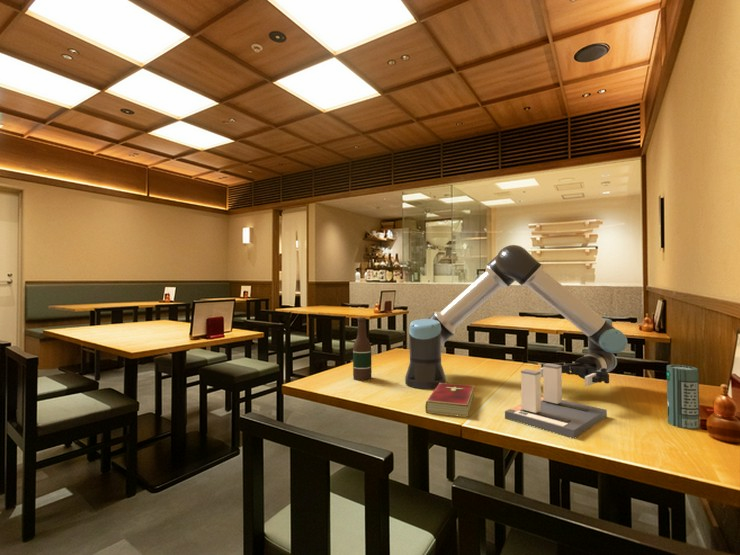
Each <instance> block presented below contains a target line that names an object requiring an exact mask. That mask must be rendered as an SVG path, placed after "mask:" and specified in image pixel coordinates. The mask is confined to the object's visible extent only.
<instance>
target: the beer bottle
mask: <svg viewBox="0 0 740 555" xmlns="http://www.w3.org/2000/svg"><path fill="white" fill-rule="evenodd" d="M366 321H367V318H366V317H363V316H362V317H361V316H359V317H357V334H356V338H355V340H354V342H353V345H352V346H353V348H352V375H353V377H352V378H353V380H355V379H356V380H355V381H368V380H371V379H372V345H371V342H370V340H369V338H368V337H367V336H368V334H367V323H366Z"/></svg>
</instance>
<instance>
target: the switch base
mask: <svg viewBox="0 0 740 555" xmlns="http://www.w3.org/2000/svg"><path fill="white" fill-rule="evenodd" d="M520 377H521V378H520V385H521V386H520V388H521V389H520V392H521V393H520V394H521V403H520V404H518V405H516V406H514V407H510V408H508V409H507V410H505V411H504V419H505V418H508V419H507V420H509V419H512V420H515V421H519V422H522V423H525V424H524V425H526V424H528V425H527V426H529V425H531V426H530V427H532V426H535V427H534V428H536V427H538V428H537V429H539V428H541V429H540V430H543V429H544V430H543V431H546V430H547V432H549V431H551V432H550V433H553V432H555V433H554V434H556V433H558V434H557V435H560V434H561V436H563V435H564V437H567V438H570V437H571V439H573V438H574V439H576V438H577V437H579V436H580V435H582V434H583V433H585V432H587V431H588V430H590V429H591V428H592V427H594V426H595V425H597V424H598V423H600V422H602V421H603V420H604V419H606V418H607V417H608V415H607V414H608V413H607V412H608V410H607V409H604V408H600V407H597V406H592V405H586V404H583V403H577V402H573V401H569V400H565V399H562V402H560V403H558V404H556V403H552V402H547V401H544V394H542V393H541V392H542V390H541V389H542V388H541V387H542V386H541V385H542V382H541V379H542V378H541V375H540V371H539V370H534V369H529V368H526V369H523V370H521V371H520ZM512 420H511V421H512ZM515 421H514V422H515ZM519 422H518V423H519ZM522 423H521V424H522ZM578 435H579V436H578ZM575 437H576V438H575Z"/></svg>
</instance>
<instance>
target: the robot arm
mask: <svg viewBox="0 0 740 555" xmlns="http://www.w3.org/2000/svg"><path fill="white" fill-rule="evenodd" d="M514 282H517V283H518V284H519V285H521V286H522V287H525V286H526V287H527V288H528V289H530V290H531V291H532V292H533V293H535V295H537V296H539V298H540V299H542V300H543V301H544V302H546V303H547V304H548V305H549V307H550V306H551V308H553V309H554V310H555V311H556V312H558V313H559V315H561V316H562V317H563V318H564V319H566V320H568V321H569V322H570V323H571V324H572V325H573V326H575V327H576V328H577V329H578V330H579V331H581V332H582V333H583V334H584V335H585V336H586V337H587V343H588V348H587V349H588V350H587V351H588V354H586V355H584V356H581V357H578V358H577V359H575V361H574V362H573V363H566V362H565V361H562V362H550V363H549V364H556V365H561V366H562V374H567V375H569V376H570V375H572V376H573V375H575V376H578V377H579V378H581V379H583V380H584V386H585V387H589V386H592V385H594V384H598V383H602V382H604V384H607V385H608V384H610V374H609V373H610V372H612V371H614V369H615V368H616V366H618V365H617V364H618V359H617V357H616V355H615V354H619V353H621V352H623V351H625V349H626V348H627V346H628V338H627V336H626V335H625V333H623V331H621V330H619V329H617V328H615V327H614V325H613V320H612V319H610V318H605V317H602V316H600V314H598V313H597V312H596V311H594V310H593V309H592V308H591V307H590V306H588V305H587V304H586V303H585V302H584V301H582V300H581V299H580V298H578V296H576V295H574V294H573V293H572V292H571V291H570V290H569V289H568V288H566V287H565V286H564V285H562V284H561V283H560V282H559V281H558V280H556V279H555V278H554V277H553V276H551V275H550V273H548V272H546V271H545V270H544V269H543V265H542V264H541V263H540V262H539V261H538V260H537V259H536V258H535V257H533V255H532V254H530V252H529V251H527V249H526V248H524V247H522V246H521V245H516V244H510V245H507V246H505V247H503V248H501V249H500V250H499V252H498V253H497V255H496V256H494V257H493V259H491V260H490V261H489V262H488V263H486V265H485V271H484V272H483V273H482V274H481V275H480V276H478V277H477V278H476V279H475V280H474V281H473V282H472V283H471V284H470V285H468V287H466V288H465V289H464V290H463V291H462V292H461V293H459V295H457V296H456V297H455V298H454V299H453V300H452V301H451V302H449V303H448V304H447V305H446V306H445V307H444V308H443V309H442V310H441V311H434V312H433V313H432V314H431V315H430V316H428V318H420V319H415V320H413V321H411V322H410V324H409V328H408V332H409V364H408V368H407V371H406V374H405V377H404V378H405V379H404V380H405V381H404V382H405V385H407V386H408V387H411V388H416V389H423V390H424V389H427V390H428V389H436V387H437V386H438V384H439V383H447V377H446V374H445V370H444V367H443V364H442V346H443V345H444V344H445V343H446V342H447V341H448V340H449V339H450V338H452V337H453V336H454V335H455V334H456V328H457V327H458V326H460V324H462V323H463V322H464V321H465V320H466V319H467V318H468V317H469V316H470V315H472V314H473V313H474V312H476V310H478V309H479V308H480V306H482V305H483V304H484V303H485V302H486V301H488V300H489V299H490V298H491V297H492V296H494V295H495V294H496V293H497V292H498V291H499V290H501V288H509V287H510V286H511V285H512V284H513V283H514ZM544 364H545V363H541V365H540V367H539V368H538V371H540V375H541V379H543V365H544Z"/></svg>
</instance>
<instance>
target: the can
mask: <svg viewBox="0 0 740 555" xmlns="http://www.w3.org/2000/svg"><path fill="white" fill-rule="evenodd" d="M699 378H700V377H699V368H697V367H694V366H689V365H683V364H667V365H666V394H667V395H666V398H667V399H666V401H667V403H666V404H667V412H666V413H667V424H669V425H671V426H673V427H677V428H680V429H685V430H699V429H700V428H701V427H700V388H699V386H700V385H699V384H700V383H699V382H700V381H699Z"/></svg>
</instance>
